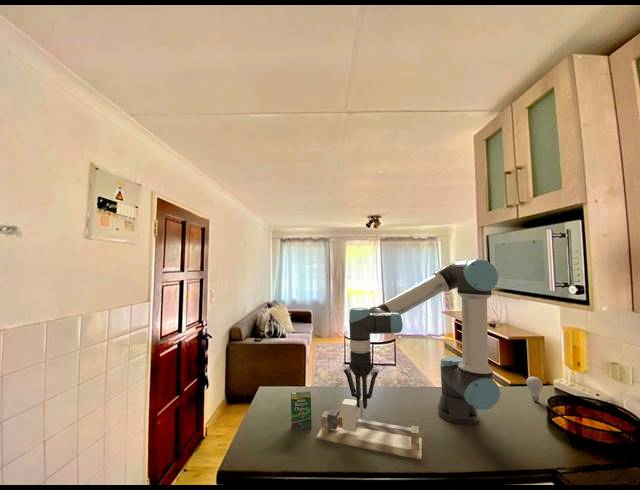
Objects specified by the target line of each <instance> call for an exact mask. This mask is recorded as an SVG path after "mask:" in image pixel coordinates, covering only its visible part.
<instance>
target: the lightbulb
mask: <svg viewBox="0 0 640 490" xmlns="http://www.w3.org/2000/svg"><path fill="white" fill-rule="evenodd" d="M525 381H526V386H527V387H528V389H529V391H530V395H531V400H532V401H534V402H535V401H537V402H539V400H540V394H541V391H542V389H543V388H544V387H543V386H544V384H543V382H542V380H541V379H540V378H539V377H537V376H529V377H527V378H526V380H525Z"/></svg>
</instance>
